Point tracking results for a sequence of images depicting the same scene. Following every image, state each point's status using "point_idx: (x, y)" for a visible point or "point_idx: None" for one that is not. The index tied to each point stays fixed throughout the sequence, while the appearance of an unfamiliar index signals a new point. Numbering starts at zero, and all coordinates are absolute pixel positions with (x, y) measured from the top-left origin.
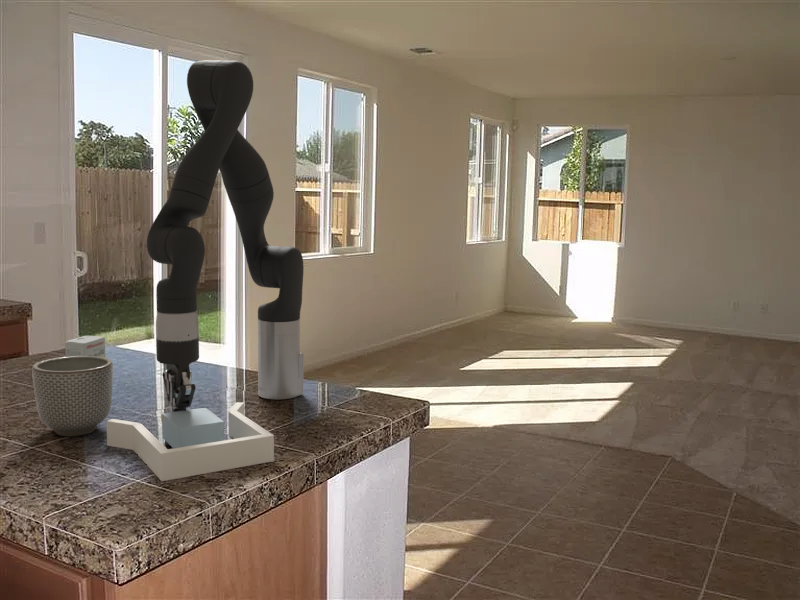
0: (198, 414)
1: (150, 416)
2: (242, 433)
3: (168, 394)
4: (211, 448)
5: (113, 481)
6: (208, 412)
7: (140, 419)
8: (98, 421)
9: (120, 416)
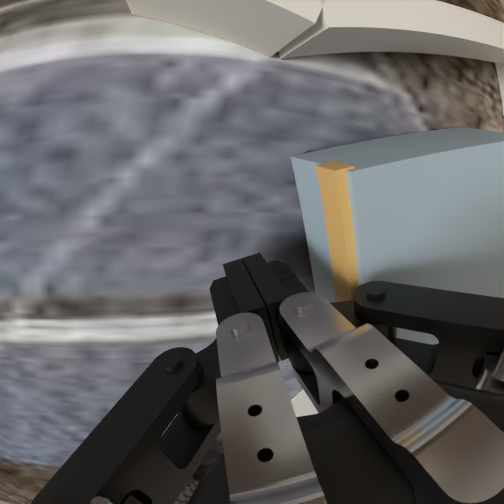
0: (448, 226)
1: (3, 358)
2: (436, 46)
3: (210, 439)
4: None
5: None
6: (441, 170)
7: (35, 384)
8: (190, 481)
9: (23, 418)
